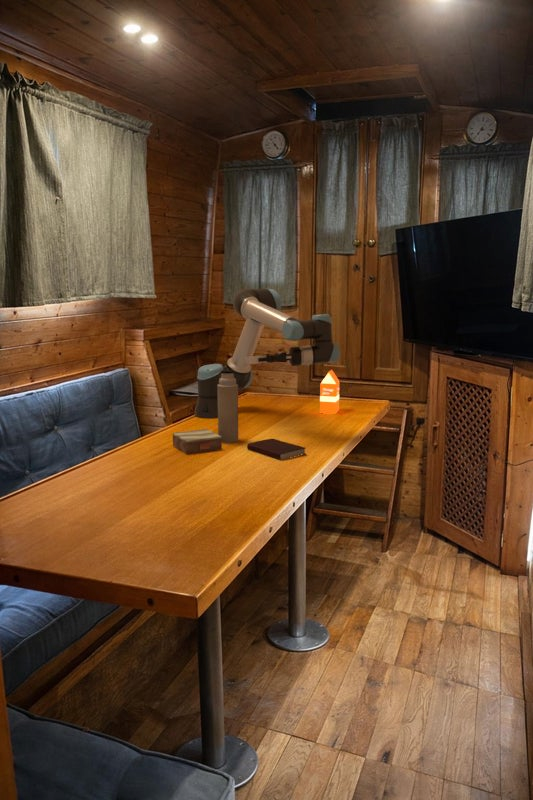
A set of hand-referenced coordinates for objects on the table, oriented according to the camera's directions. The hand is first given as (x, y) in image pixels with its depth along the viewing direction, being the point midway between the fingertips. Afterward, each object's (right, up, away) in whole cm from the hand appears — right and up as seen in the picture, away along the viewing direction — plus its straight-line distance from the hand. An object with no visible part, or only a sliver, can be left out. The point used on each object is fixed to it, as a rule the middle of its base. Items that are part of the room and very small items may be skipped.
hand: (247, 360), depth 256 cm
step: (-19, -34, -9) cm, 40 cm away
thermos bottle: (-8, -32, +1) cm, 33 cm away
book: (+11, -35, -16) cm, 40 cm away
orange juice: (+38, -22, +55) cm, 70 cm away
